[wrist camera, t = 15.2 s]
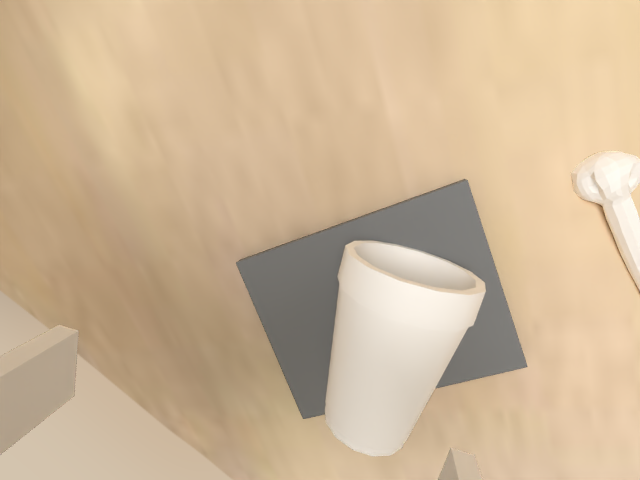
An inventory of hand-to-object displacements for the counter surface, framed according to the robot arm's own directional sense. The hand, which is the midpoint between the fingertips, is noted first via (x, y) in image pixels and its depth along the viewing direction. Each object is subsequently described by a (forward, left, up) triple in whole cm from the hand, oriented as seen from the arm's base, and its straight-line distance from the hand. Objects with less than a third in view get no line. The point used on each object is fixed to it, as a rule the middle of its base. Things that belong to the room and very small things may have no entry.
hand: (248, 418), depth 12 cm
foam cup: (-1, -12, -14) cm, 18 cm away
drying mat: (+2, -5, -20) cm, 21 cm away
